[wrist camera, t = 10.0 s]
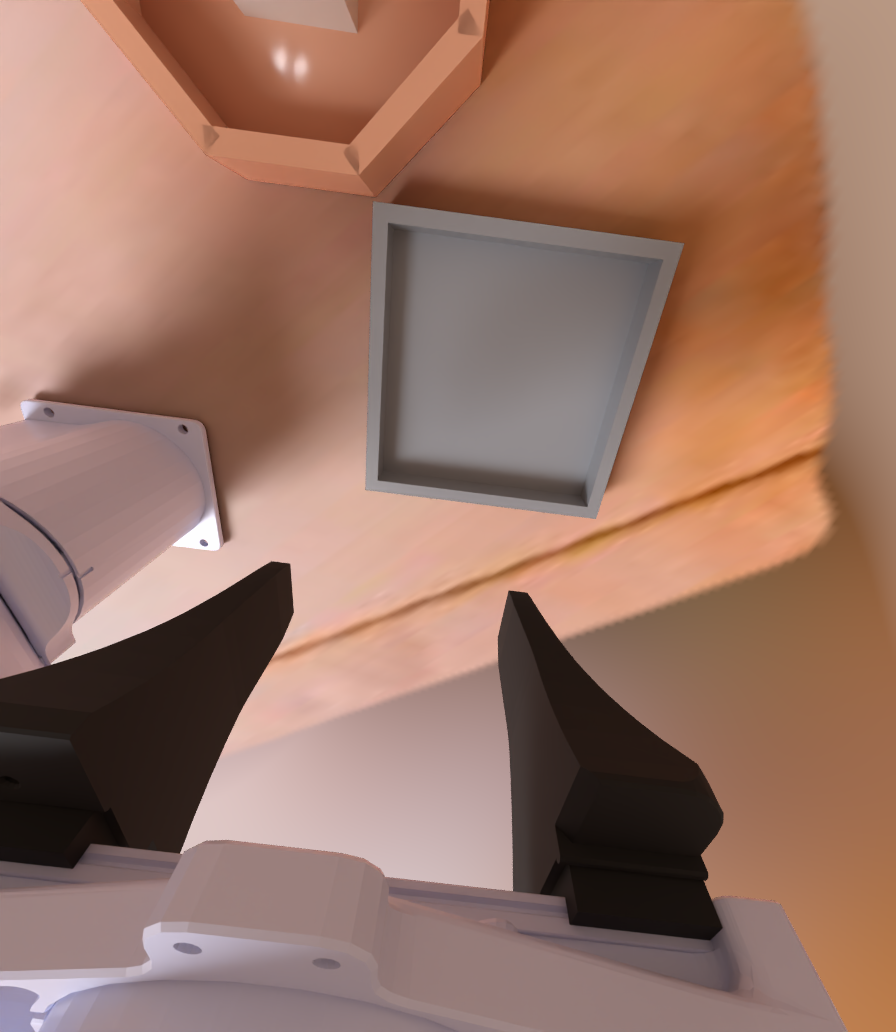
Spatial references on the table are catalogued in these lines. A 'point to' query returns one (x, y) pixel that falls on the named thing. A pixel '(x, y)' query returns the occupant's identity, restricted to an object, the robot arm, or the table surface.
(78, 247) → the table surface
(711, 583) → the table surface
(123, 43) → the bowl
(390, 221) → the parts tray
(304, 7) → the beige cube
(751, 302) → the table surface
